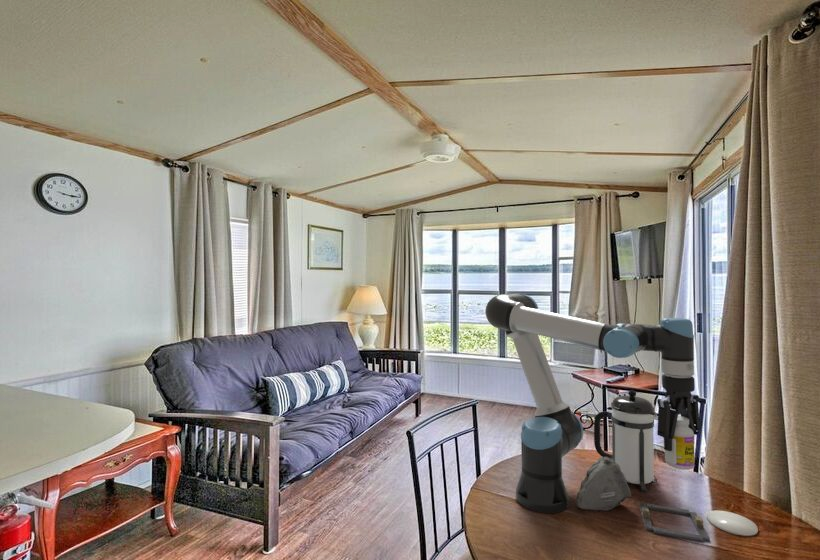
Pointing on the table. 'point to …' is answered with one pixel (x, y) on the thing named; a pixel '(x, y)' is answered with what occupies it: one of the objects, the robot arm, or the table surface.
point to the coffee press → (631, 438)
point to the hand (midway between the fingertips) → (679, 459)
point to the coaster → (732, 523)
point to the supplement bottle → (683, 445)
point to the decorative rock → (603, 486)
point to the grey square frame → (696, 520)
